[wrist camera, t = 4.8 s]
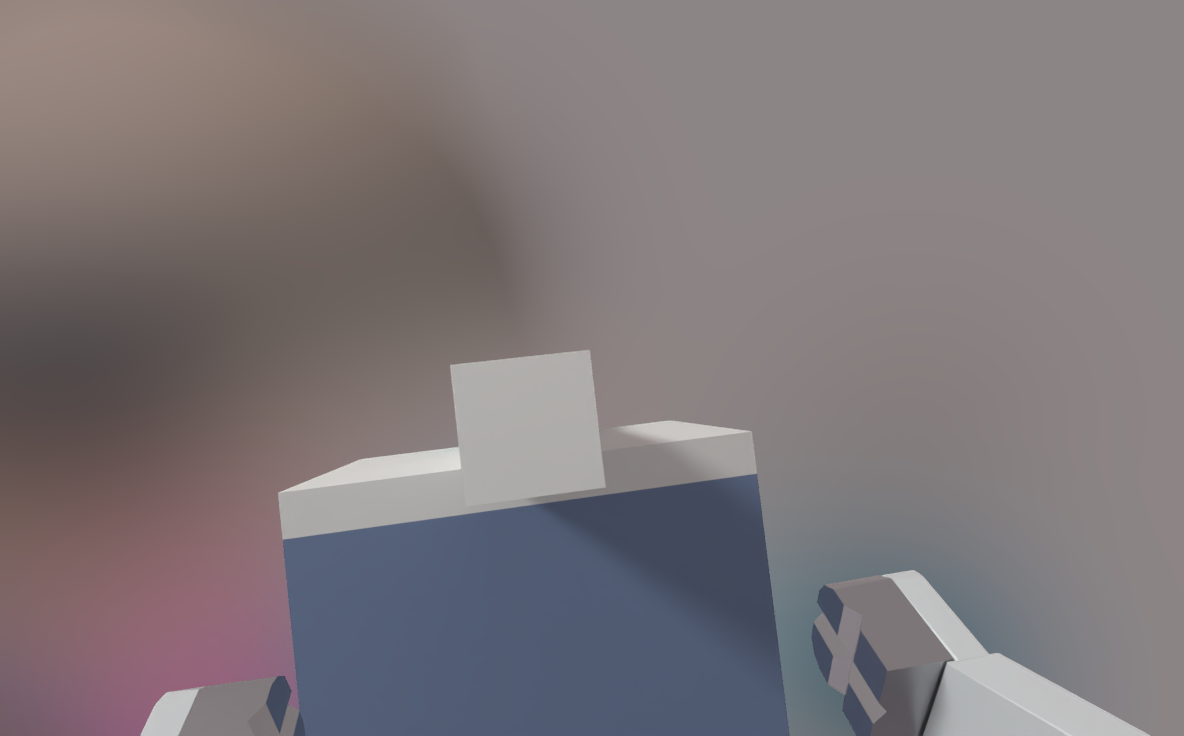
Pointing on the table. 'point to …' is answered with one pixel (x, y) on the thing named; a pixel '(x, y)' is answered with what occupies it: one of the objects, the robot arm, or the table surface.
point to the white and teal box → (527, 427)
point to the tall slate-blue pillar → (538, 597)
